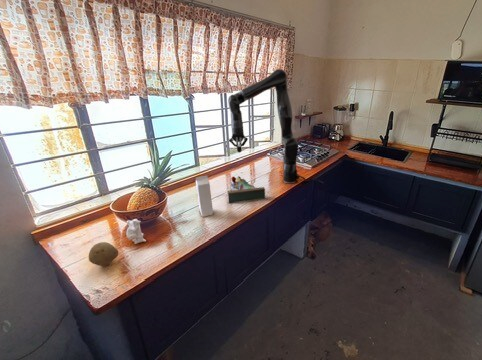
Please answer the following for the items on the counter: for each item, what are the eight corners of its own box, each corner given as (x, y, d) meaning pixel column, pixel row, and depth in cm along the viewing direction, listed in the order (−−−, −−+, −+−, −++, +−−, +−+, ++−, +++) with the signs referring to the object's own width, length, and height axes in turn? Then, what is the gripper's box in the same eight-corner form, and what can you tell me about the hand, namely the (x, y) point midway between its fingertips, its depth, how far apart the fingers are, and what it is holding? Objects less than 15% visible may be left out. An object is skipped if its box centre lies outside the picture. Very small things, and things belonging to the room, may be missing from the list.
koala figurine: (151, 239, 114) (145, 217, 109) (137, 247, 108) (131, 224, 103) (139, 234, 117) (133, 212, 112) (125, 242, 111) (118, 219, 107)
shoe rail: (264, 196, 155) (263, 187, 152) (265, 198, 153) (264, 188, 150) (228, 201, 149) (227, 191, 146) (229, 203, 147) (228, 193, 144)
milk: (213, 214, 135) (209, 177, 126) (202, 217, 132) (196, 179, 123) (210, 209, 140) (206, 173, 131) (199, 212, 137) (194, 175, 128)
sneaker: (253, 198, 153) (252, 184, 149) (228, 190, 163) (226, 177, 159) (260, 193, 159) (260, 179, 155) (235, 186, 169) (234, 173, 165)
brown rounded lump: (86, 268, 96) (78, 247, 92) (109, 254, 104) (102, 234, 100) (102, 274, 93) (94, 253, 89) (124, 259, 101) (118, 239, 97)
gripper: (227, 128, 155) (230, 154, 161) (248, 126, 159) (250, 152, 165) (226, 126, 162) (229, 151, 168) (246, 125, 166) (248, 150, 172)
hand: (239, 152), depth 167 cm, fingers closed
